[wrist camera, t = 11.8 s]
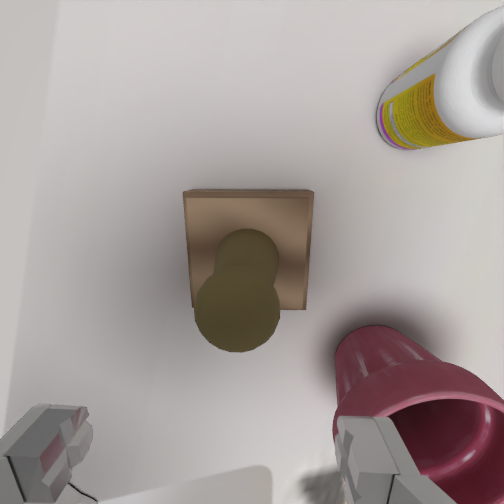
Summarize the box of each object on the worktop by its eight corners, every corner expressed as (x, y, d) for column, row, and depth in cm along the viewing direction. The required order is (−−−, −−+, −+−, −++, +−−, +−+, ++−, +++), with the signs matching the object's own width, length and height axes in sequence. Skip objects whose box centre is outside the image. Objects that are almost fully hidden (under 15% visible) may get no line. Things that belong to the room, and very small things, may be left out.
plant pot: (333, 293, 29) (380, 378, 17) (451, 317, 30) (582, 419, 17) (301, 389, 34) (321, 511, 22) (404, 410, 34) (483, 543, 22)
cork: (222, 291, 26) (193, 374, 15) (210, 233, 24) (167, 281, 13) (283, 284, 25) (295, 364, 15) (274, 223, 23) (282, 265, 13)
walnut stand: (301, 295, 30) (307, 314, 26) (199, 293, 30) (189, 311, 26) (308, 189, 26) (315, 192, 22) (192, 189, 27) (180, 192, 23)
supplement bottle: (419, 162, 25) (569, 153, 13) (360, 131, 24) (456, 89, 12) (465, 91, 23) (694, -2, 11) (402, 55, 22) (567, -86, 10)
